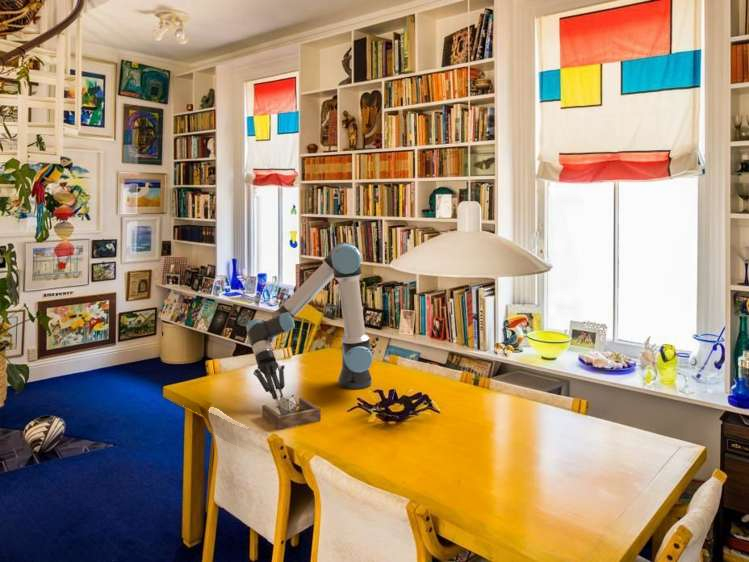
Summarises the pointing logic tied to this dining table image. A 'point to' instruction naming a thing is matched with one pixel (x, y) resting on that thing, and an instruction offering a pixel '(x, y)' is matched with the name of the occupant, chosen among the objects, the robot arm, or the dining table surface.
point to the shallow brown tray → (293, 415)
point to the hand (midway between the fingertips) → (280, 405)
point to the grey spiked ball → (287, 405)
